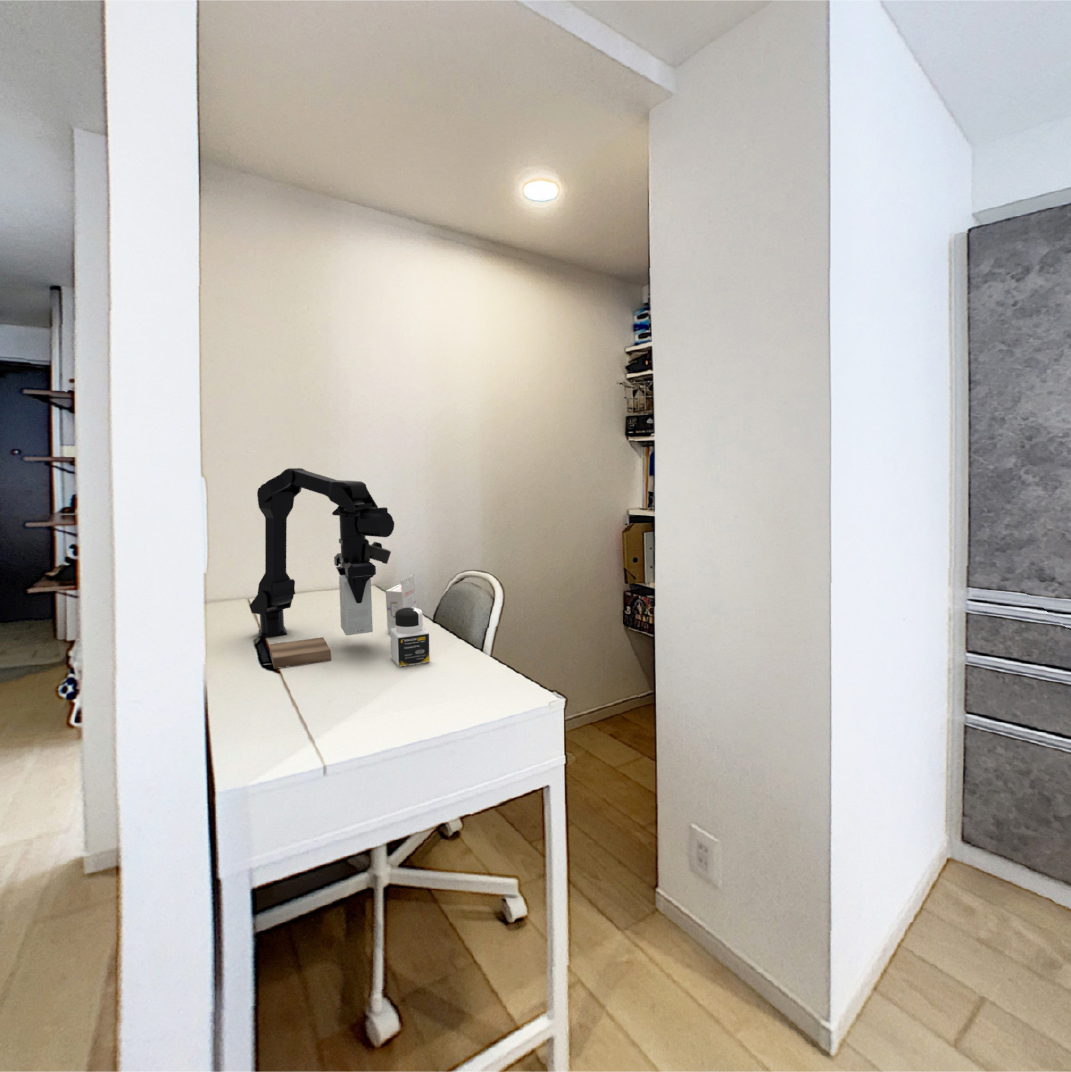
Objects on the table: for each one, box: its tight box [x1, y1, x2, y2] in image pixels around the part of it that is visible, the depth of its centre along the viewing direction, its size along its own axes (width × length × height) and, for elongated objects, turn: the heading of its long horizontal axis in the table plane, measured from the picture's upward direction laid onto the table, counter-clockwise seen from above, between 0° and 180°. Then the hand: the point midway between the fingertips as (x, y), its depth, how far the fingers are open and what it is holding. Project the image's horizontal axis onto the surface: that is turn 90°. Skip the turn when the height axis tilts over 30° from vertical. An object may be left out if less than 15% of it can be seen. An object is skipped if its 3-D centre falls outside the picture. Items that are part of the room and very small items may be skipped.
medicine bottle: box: [389, 607, 430, 668], centre depth 136 cm, size 7×7×12 cm
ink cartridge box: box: [385, 573, 417, 635], centre depth 160 cm, size 9×5×15 cm, turn 168°
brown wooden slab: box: [268, 636, 332, 670], centre depth 138 cm, size 11×12×2 cm
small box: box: [338, 575, 374, 636], centre depth 143 cm, size 8×6×13 cm
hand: (355, 599), depth 143 cm, fingers closed on small box, 8 cm apart
